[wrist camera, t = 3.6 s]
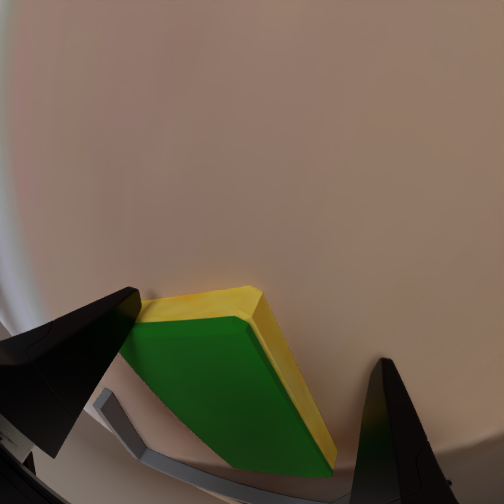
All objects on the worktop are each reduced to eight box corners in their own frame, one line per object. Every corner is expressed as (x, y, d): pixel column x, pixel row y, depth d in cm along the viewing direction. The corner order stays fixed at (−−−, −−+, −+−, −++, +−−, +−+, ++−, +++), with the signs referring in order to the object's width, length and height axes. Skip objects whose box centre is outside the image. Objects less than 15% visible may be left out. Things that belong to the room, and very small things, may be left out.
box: (391, 474, 16) (388, 497, 15) (333, 505, 25) (330, 519, 23) (104, 387, 21) (92, 405, 20) (142, 446, 29) (135, 459, 28)
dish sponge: (243, 441, 19) (232, 468, 17) (128, 296, 14) (99, 330, 12) (339, 447, 16) (333, 479, 14) (262, 276, 11) (239, 325, 9)
